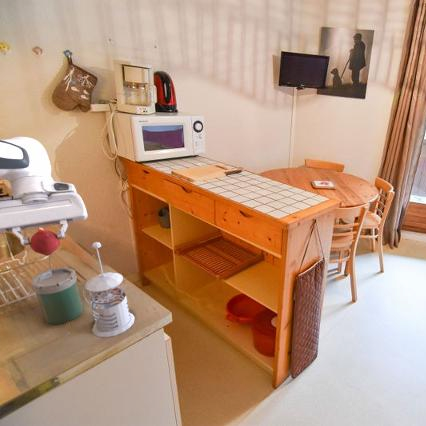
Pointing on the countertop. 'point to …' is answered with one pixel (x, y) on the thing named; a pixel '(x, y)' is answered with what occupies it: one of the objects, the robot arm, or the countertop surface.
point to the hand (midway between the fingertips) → (44, 241)
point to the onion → (44, 242)
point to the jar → (58, 295)
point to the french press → (108, 303)
